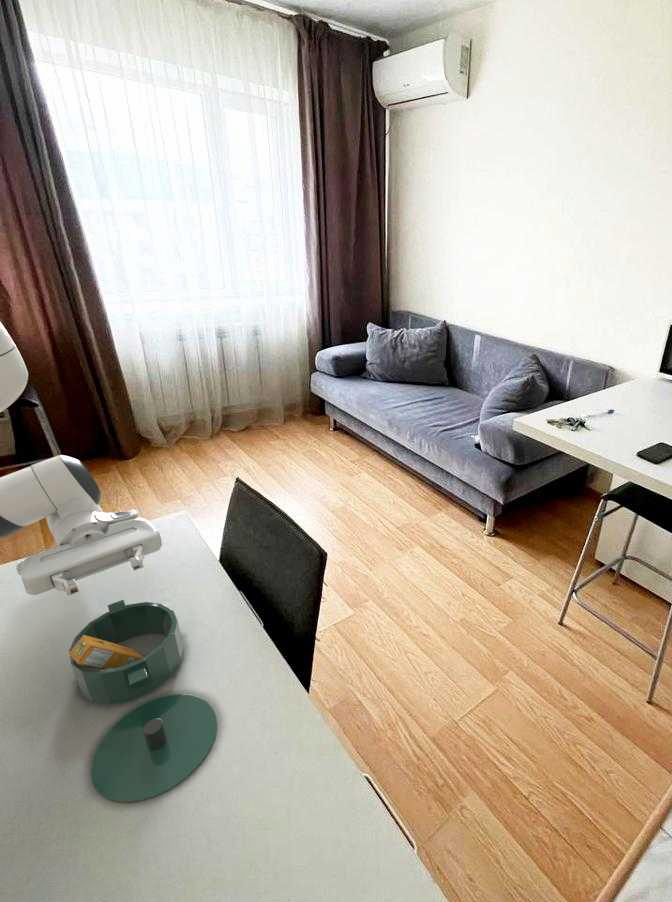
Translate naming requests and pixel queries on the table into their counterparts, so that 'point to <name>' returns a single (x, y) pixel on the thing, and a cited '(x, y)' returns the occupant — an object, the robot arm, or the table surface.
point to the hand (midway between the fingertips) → (106, 577)
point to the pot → (140, 673)
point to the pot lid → (154, 748)
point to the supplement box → (102, 653)
